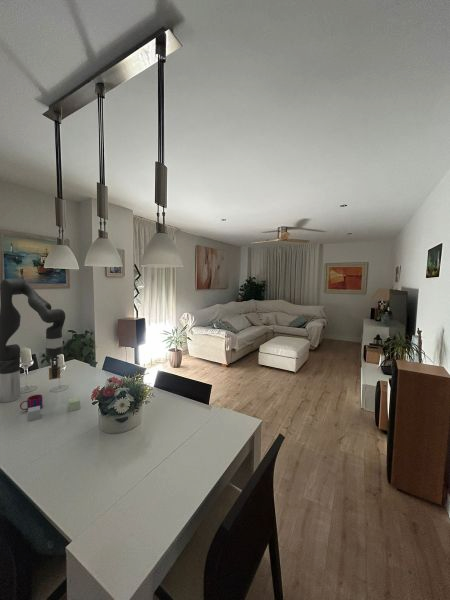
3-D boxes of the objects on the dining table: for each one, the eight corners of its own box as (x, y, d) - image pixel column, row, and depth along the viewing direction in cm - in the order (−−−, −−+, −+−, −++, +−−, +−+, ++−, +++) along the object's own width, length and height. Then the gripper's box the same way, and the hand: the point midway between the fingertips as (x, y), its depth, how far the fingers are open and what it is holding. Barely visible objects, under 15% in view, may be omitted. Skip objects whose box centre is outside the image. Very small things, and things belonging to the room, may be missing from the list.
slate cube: (28, 417, 127) (28, 408, 127) (40, 414, 130) (40, 405, 130) (27, 421, 123) (27, 412, 123) (40, 418, 126) (40, 409, 126)
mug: (43, 408, 136) (43, 397, 135) (21, 415, 128) (20, 403, 128) (40, 404, 140) (40, 393, 140) (18, 411, 133) (18, 399, 132)
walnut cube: (49, 376, 131) (48, 367, 131) (60, 375, 134) (59, 366, 134) (49, 379, 127) (48, 370, 127) (60, 378, 130) (60, 369, 130)
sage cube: (68, 407, 138) (68, 399, 137) (78, 405, 141) (78, 397, 140) (69, 411, 134) (69, 403, 133) (79, 409, 137) (79, 400, 136)
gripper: (45, 343, 133) (46, 373, 134) (45, 350, 121) (46, 382, 123) (61, 342, 137) (62, 370, 139) (63, 348, 126) (63, 379, 127)
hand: (54, 376), depth 131 cm, fingers closed on walnut cube, 5 cm apart
